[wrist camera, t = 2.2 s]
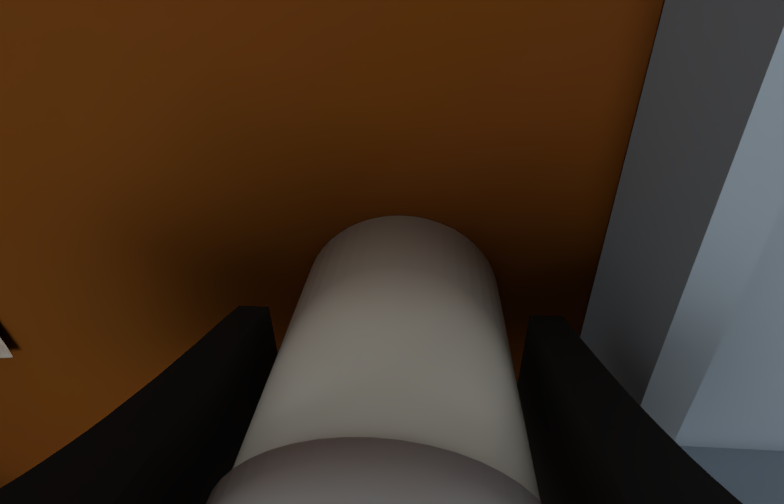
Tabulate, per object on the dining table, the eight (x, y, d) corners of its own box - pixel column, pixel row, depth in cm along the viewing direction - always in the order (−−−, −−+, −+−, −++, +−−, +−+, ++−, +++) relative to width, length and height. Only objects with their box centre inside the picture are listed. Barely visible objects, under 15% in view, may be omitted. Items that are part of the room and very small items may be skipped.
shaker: (494, 376, 12) (546, 728, 7) (312, 368, 12) (216, 696, 7) (516, 211, 10) (630, 551, 4) (289, 207, 10) (109, 516, 4)
